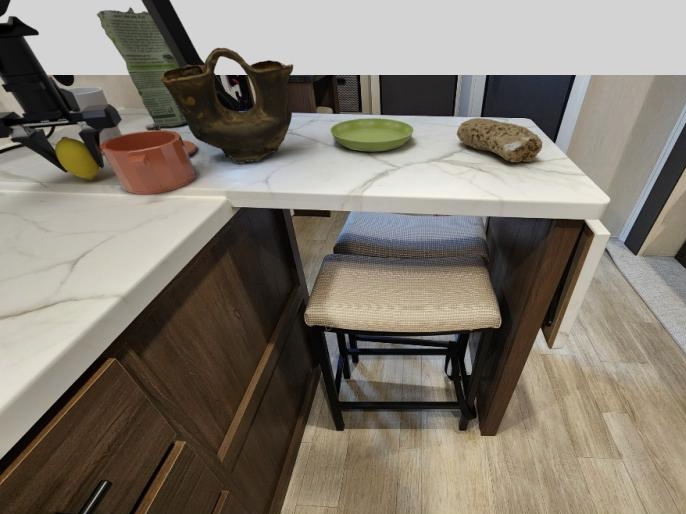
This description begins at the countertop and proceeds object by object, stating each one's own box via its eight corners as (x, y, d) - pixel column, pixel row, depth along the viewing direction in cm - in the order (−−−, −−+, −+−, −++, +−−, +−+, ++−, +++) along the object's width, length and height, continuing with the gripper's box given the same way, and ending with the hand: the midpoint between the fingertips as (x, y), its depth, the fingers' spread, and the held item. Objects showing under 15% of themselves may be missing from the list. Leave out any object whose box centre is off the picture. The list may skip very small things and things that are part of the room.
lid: (198, 142, 82) (188, 115, 78) (195, 160, 73) (183, 131, 69) (136, 148, 79) (122, 120, 74) (125, 168, 69) (108, 138, 65)
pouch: (144, 127, 91) (86, 7, 74) (171, 116, 100) (125, 6, 83) (181, 129, 90) (132, 7, 73) (206, 118, 99) (166, 6, 82)
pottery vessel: (301, 141, 83) (283, 43, 70) (312, 155, 76) (295, 48, 63) (193, 156, 75) (149, 47, 62) (194, 173, 68) (144, 54, 55)
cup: (112, 156, 75) (77, 95, 66) (83, 153, 76) (45, 93, 67) (139, 145, 80) (110, 87, 72) (111, 142, 81) (80, 86, 73)
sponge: (541, 166, 76) (494, 124, 86) (551, 133, 69) (500, 92, 80) (491, 184, 74) (450, 139, 84) (497, 152, 67) (451, 108, 78)
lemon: (102, 172, 68) (77, 130, 62) (112, 179, 65) (86, 136, 60) (70, 180, 65) (40, 137, 59) (79, 188, 62) (49, 143, 57)
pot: (198, 160, 73) (183, 124, 68) (193, 194, 61) (174, 152, 56) (133, 168, 70) (112, 130, 65) (114, 205, 57) (86, 161, 52)
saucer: (424, 152, 79) (425, 137, 76) (338, 160, 74) (336, 145, 72) (400, 127, 93) (400, 115, 91) (327, 133, 89) (325, 120, 87)
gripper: (102, 63, 61) (146, 150, 72) (-26, 69, 56) (42, 161, 67) (85, 72, 54) (137, 168, 64) (-65, 80, 48) (19, 183, 59)
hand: (85, 169), depth 64 cm, fingers closed on lemon, 5 cm apart
